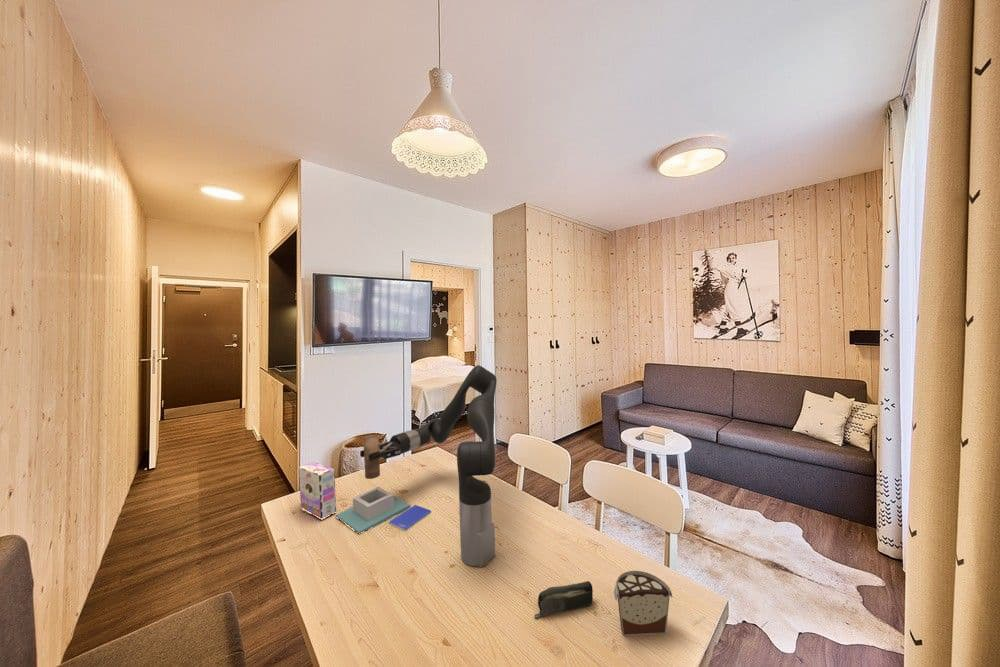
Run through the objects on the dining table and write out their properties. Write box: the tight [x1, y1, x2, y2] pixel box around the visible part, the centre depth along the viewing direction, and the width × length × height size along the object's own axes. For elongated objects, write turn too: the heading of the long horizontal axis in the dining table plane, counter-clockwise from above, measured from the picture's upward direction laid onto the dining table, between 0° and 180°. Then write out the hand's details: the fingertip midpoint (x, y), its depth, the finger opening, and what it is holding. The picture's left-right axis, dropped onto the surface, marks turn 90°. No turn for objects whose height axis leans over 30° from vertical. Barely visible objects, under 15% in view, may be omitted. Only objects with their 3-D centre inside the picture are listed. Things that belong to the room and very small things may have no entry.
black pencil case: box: [533, 580, 594, 619], centre depth 80 cm, size 5×3×15 cm
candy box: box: [298, 461, 337, 518], centre depth 123 cm, size 14×6×16 cm, turn 58°
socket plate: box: [335, 486, 411, 533], centre depth 122 cm, size 16×20×6 cm
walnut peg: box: [362, 434, 381, 480], centre depth 121 cm, size 5×5×14 cm
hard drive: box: [387, 504, 432, 532], centre depth 118 cm, size 2×8×12 cm
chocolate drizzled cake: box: [613, 570, 673, 637], centre depth 76 cm, size 12×6×10 cm, turn 92°
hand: (364, 456), depth 119 cm, fingers closed on walnut peg, 5 cm apart
